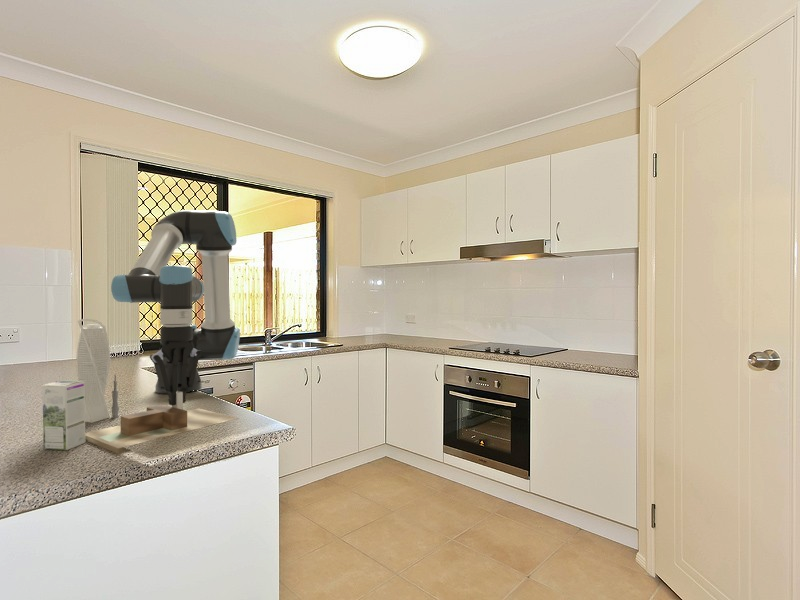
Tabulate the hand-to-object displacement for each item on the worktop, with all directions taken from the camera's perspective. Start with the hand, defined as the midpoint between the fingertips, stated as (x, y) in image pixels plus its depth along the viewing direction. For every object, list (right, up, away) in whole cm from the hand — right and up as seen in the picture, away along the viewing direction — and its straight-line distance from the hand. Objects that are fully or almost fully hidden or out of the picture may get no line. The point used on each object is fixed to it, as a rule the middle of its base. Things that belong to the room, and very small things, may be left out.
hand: (177, 416), depth 118 cm
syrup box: (-18, -3, -15) cm, 24 cm away
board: (-2, -3, -3) cm, 4 cm away
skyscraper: (-23, -3, +3) cm, 24 cm away
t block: (-4, -2, -5) cm, 7 cm away
